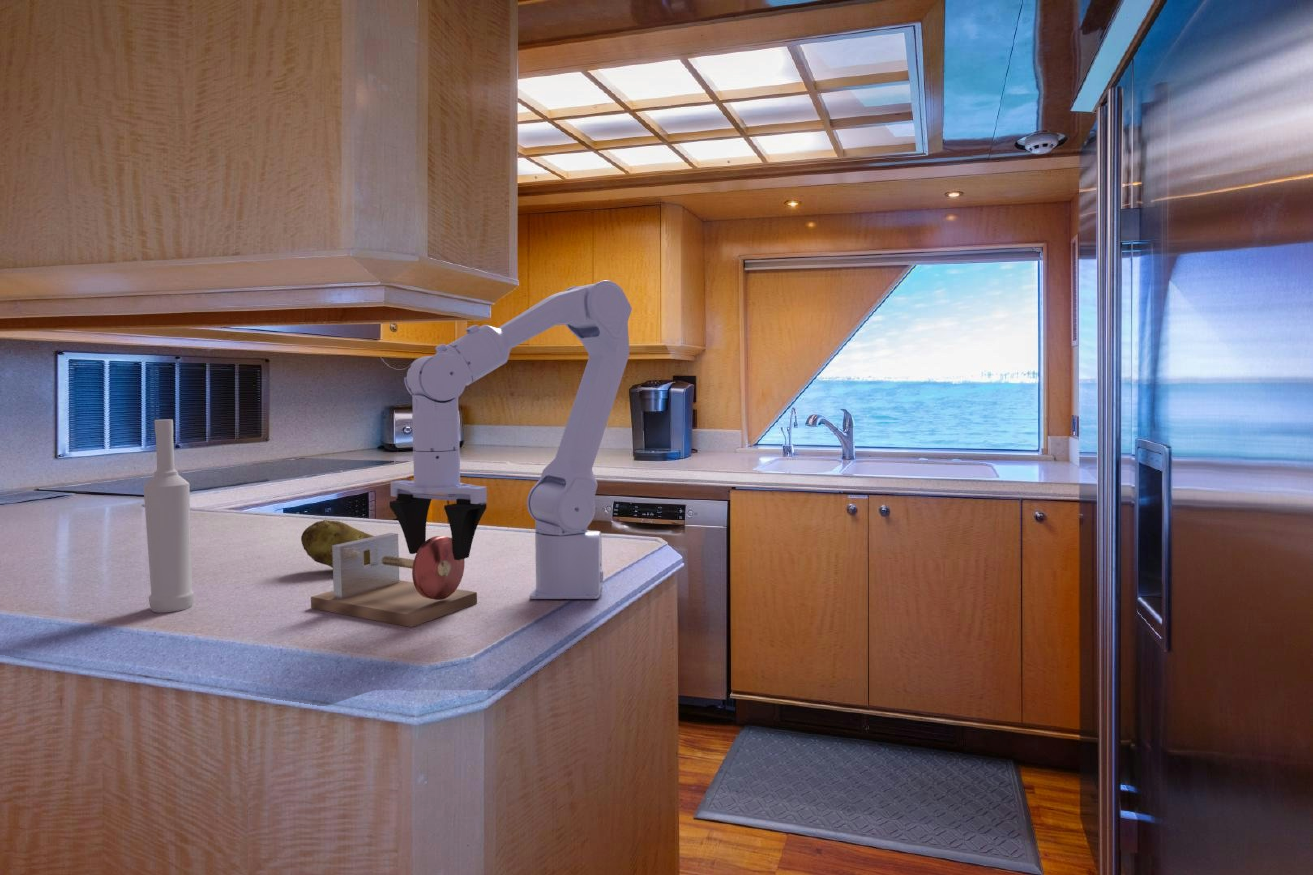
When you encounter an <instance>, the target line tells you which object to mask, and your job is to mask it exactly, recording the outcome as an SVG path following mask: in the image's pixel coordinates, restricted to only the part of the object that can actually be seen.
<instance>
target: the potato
mask: <svg viewBox="0 0 1313 875" xmlns="http://www.w3.org/2000/svg"><path fill="white" fill-rule="evenodd" d="M374 536H375V535H372V534H370V533H368V532H364V531H362V530H359V529H358V528H354V527H353V526H351V525H349V524H347V523H344V522H343V521H342V522H341V521H338V520H328V519H323V520H320V521H316V522H314V523H312V524H311V525H309V526H308V527H307V528H305V529H304V530H303V532H302V534H301V536H300V538H301V539H300V541H301V544H302V547H303V550H304V551H305V552H306V554H307V556H308V557H309V558H311V559H312V560H313V562H316V563H319V564H321V565H326V566H328V567H330V568H332V569H333V553H332V546H333V545H337V544H342V543H346V542H351V541H355V540H360V539H364V538H369V537H374ZM368 564H370V550H366V551H364V565H368Z"/></svg>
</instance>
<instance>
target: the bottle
mask: <svg viewBox="0 0 1313 875" xmlns="http://www.w3.org/2000/svg"><path fill="white" fill-rule="evenodd" d="M154 435H155V446H156V447H155V448H156V449H155V452H156V471H154V472H153V474H154V475H153V476H152V477H151V478H150V479H149V480H148V481H147V482H146V483H144V485H143V500H144V512H145V526H146V528H145V529H146V541H147V553H148V554H147V555H148V568H149V580H150V582H149V583H150V595H149V596H148V602H149V603H148V604H149V607H150V610H151V612H153V613H160V614H161V613H173V612H180V611H183V610H187V609H189V608H192V607H193V605H194V604H195V603H194V602H195V591H194V590H193V589H192V585H193V584H192V545H191V544H192V541H191V540H192V539H191V504H190V502H191V501H190V500H191V499H190V498H191V494H190V488H191V487H190V482H188V481H187V480H186V479H185V478H183V477H182V476H181V475H180V474H179V471H178V470H176V467H175V450H174V449H175V447H174V445H175V444H174V420H173V419H171V418H170V419H169V418H168V419H154Z"/></svg>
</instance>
